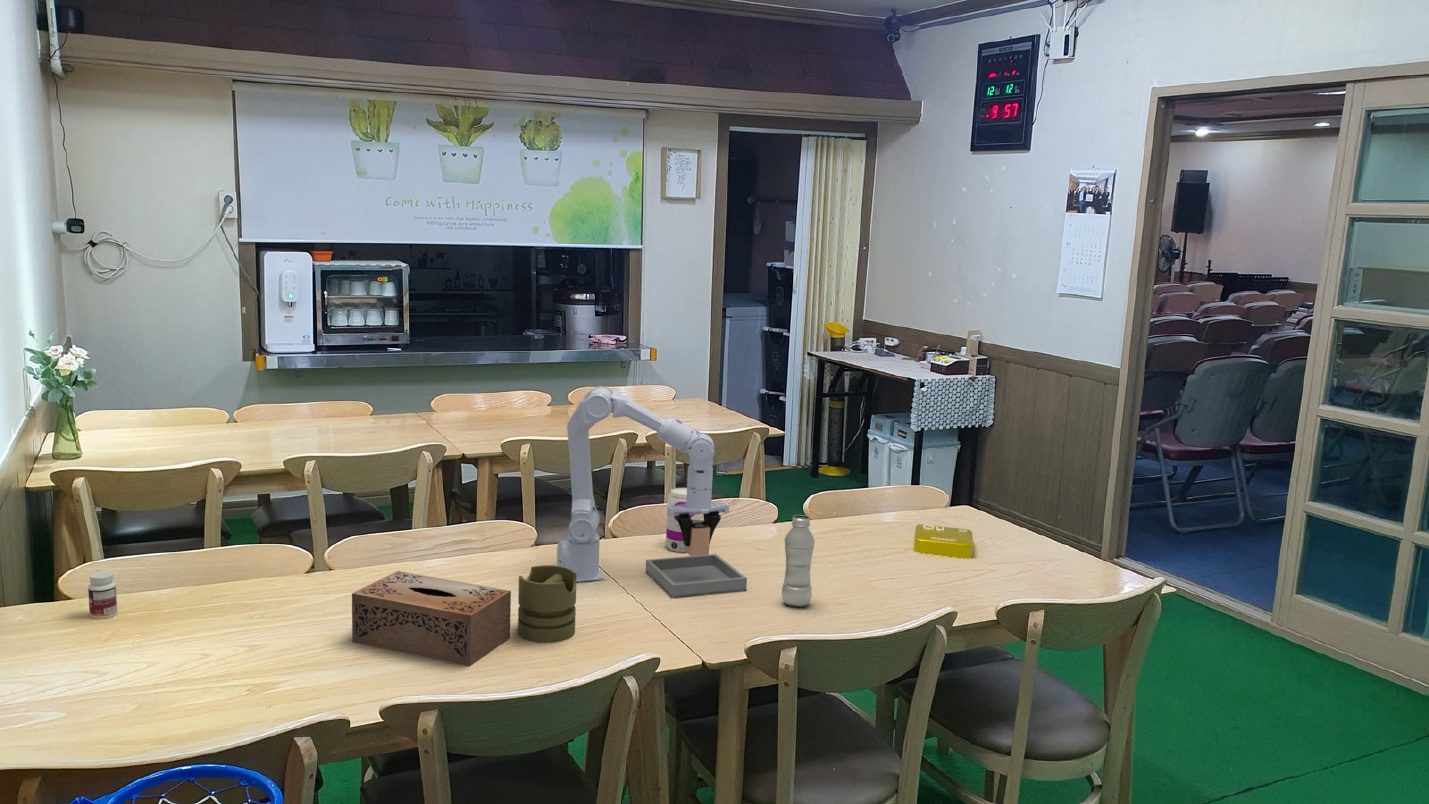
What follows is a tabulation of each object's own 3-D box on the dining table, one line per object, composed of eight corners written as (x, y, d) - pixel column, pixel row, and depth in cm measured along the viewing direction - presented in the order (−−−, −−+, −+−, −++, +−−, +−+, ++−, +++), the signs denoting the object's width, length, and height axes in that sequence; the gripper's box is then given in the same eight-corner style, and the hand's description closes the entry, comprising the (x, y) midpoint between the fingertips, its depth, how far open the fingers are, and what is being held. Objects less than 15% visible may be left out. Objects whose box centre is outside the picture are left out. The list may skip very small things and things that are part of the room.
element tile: (913, 554, 273) (914, 537, 272) (914, 538, 288) (916, 521, 287) (972, 561, 270) (973, 543, 269) (970, 544, 285) (972, 527, 284)
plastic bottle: (809, 611, 228) (815, 522, 224) (778, 607, 229) (784, 519, 226) (812, 601, 234) (818, 514, 231) (782, 598, 235) (788, 511, 232)
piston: (508, 579, 204) (534, 562, 214) (507, 638, 206) (532, 618, 216) (562, 587, 201) (585, 569, 211) (561, 646, 203) (583, 626, 213)
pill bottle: (92, 611, 208) (90, 571, 207) (119, 609, 210) (117, 569, 208) (87, 620, 204) (85, 579, 202) (115, 618, 205) (113, 577, 204)
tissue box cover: (509, 639, 206) (510, 591, 204) (470, 667, 192) (470, 615, 190) (397, 618, 213) (397, 571, 212) (352, 643, 200) (351, 593, 198)
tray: (672, 598, 232) (672, 585, 231) (645, 572, 248) (646, 559, 247) (746, 590, 239) (746, 578, 238) (715, 565, 255) (716, 553, 254)
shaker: (691, 556, 239) (692, 525, 238) (684, 550, 243) (685, 520, 242) (708, 554, 241) (710, 524, 240) (701, 548, 245) (703, 519, 244)
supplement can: (697, 554, 263) (700, 496, 261) (664, 552, 263) (667, 494, 261) (698, 544, 271) (701, 488, 269) (666, 542, 271) (669, 486, 269)
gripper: (676, 493, 233) (673, 552, 235) (735, 489, 239) (732, 547, 241) (665, 485, 239) (662, 542, 242) (723, 482, 245) (720, 538, 247)
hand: (696, 544), depth 242 cm, fingers closed on shaker, 4 cm apart
